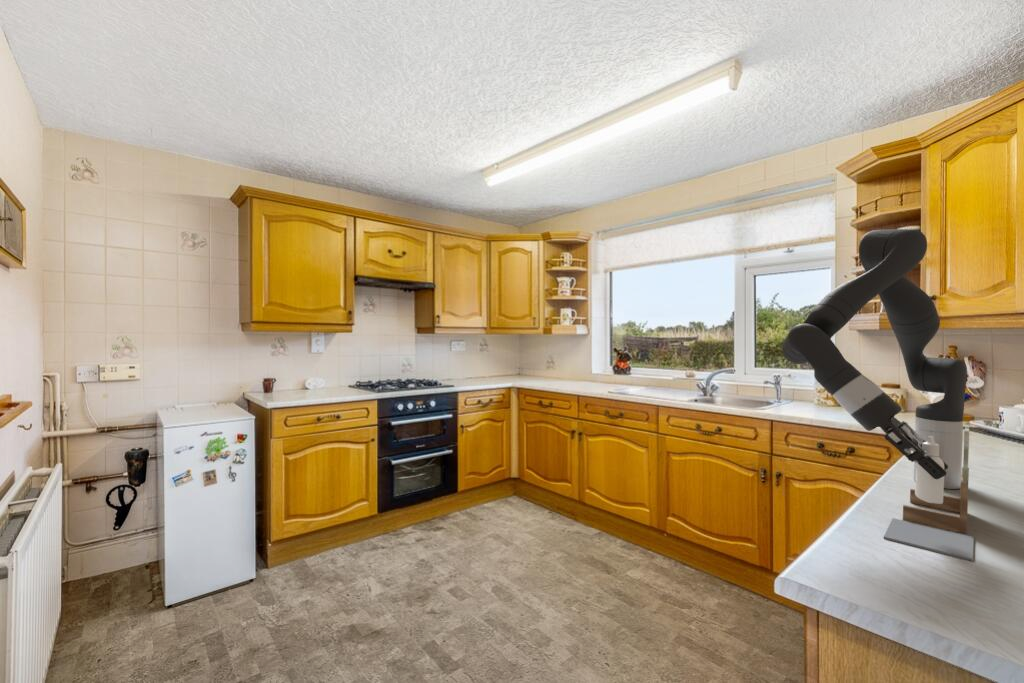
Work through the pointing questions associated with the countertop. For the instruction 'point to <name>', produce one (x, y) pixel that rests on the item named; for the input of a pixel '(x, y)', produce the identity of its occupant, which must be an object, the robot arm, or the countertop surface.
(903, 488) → the countertop surface
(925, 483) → the eye dropper bottle
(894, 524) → the slate mat
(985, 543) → the countertop surface
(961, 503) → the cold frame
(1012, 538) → the countertop surface
